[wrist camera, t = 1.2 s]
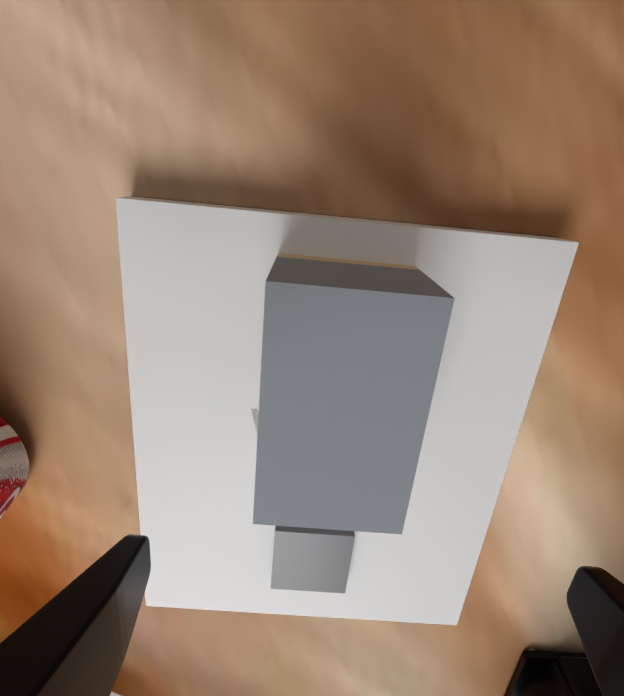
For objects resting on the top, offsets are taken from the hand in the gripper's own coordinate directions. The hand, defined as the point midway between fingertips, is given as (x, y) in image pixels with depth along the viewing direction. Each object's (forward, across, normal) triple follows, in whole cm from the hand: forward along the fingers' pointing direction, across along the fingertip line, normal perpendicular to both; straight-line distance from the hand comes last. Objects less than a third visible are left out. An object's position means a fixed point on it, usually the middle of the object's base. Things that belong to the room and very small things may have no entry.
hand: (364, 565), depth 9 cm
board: (+12, 0, +5) cm, 13 cm away
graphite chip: (+10, 0, +11) cm, 15 cm away
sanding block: (+10, 0, 0) cm, 10 cm away
